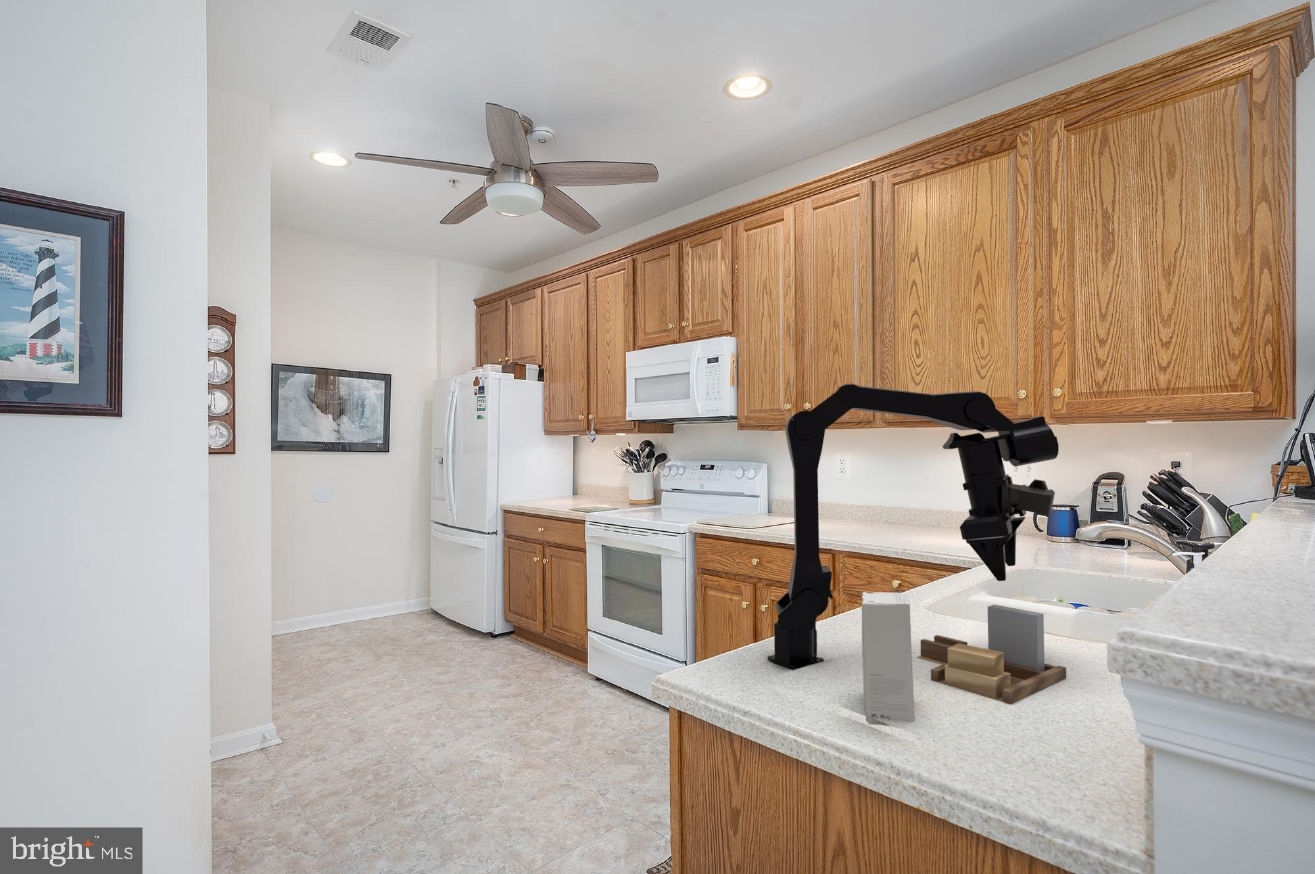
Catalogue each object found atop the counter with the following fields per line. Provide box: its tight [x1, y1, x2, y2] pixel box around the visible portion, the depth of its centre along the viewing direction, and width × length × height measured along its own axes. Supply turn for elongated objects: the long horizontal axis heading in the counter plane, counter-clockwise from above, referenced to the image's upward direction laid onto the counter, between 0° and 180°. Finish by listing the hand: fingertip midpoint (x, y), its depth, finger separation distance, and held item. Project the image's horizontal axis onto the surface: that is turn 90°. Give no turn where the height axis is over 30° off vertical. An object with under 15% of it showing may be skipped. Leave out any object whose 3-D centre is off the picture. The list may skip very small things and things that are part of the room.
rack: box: [930, 662, 1067, 705], centre depth 92 cm, size 16×11×2 cm
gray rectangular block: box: [987, 604, 1046, 672], centre depth 95 cm, size 2×7×9 cm, turn 36°
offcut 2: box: [944, 665, 1011, 700], centre depth 89 cm, size 4×7×2 cm, turn 36°
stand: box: [916, 634, 968, 666], centre depth 102 cm, size 7×5×4 cm
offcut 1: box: [948, 643, 1004, 677], centre depth 89 cm, size 4×6×2 cm, turn 44°
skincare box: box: [861, 591, 916, 726], centre depth 83 cm, size 8×6×15 cm
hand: (1006, 572), depth 99 cm, fingers open, 9 cm apart
